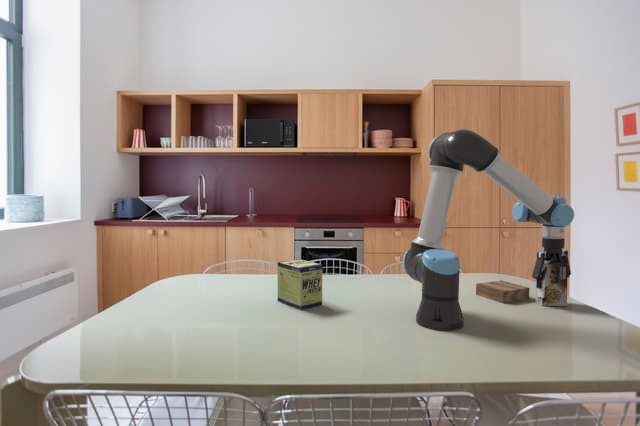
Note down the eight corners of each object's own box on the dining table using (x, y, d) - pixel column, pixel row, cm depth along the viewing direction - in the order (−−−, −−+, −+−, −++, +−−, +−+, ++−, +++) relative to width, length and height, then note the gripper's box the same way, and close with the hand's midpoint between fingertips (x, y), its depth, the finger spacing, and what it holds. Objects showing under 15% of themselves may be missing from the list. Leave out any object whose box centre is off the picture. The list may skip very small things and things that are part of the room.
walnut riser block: (503, 304, 166) (503, 291, 166) (475, 295, 179) (476, 283, 178) (529, 300, 172) (529, 287, 171) (500, 292, 184) (501, 280, 184)
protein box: (301, 310, 157) (300, 267, 156) (276, 301, 169) (276, 261, 168) (323, 305, 164) (323, 264, 162) (298, 296, 176) (298, 258, 174)
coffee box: (559, 302, 168) (561, 260, 167) (567, 306, 161) (569, 263, 160) (534, 301, 169) (536, 260, 167) (541, 306, 162) (543, 263, 161)
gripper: (539, 240, 155) (537, 301, 157) (583, 236, 164) (581, 294, 166) (522, 237, 162) (520, 296, 164) (565, 234, 171) (563, 289, 173)
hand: (551, 295), depth 165 cm, fingers closed on coffee box, 10 cm apart
